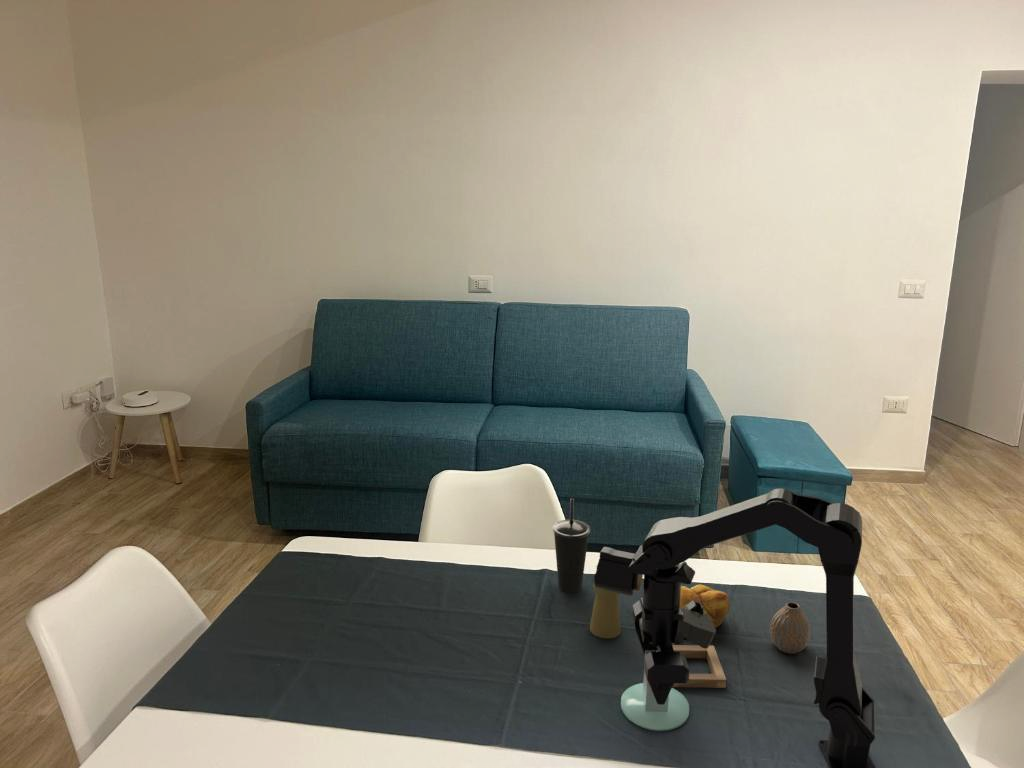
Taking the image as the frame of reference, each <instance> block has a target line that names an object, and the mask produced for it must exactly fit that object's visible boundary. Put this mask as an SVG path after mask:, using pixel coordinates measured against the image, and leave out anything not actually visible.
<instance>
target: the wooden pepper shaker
mask: <svg viewBox="0 0 1024 768" xmlns="http://www.w3.org/2000/svg"><path fill="white" fill-rule="evenodd" d="M592 586H593V587H592V588H593V591H594V593H595V596H594V602H593V607H592V611H591V619H590V624H589V632H590V633H591V634H592V635H593V636H595V637H598V638H599V639H600V638H601V639H615V638H617V637H619V636H620V635H621V632H622V623H621V615H620V614H621V613H620V604H619V601H620V600H619V595H620V593H615V592H611V591H606V590H601V589H597V588H595V584H594V582H593V584H592Z"/></svg>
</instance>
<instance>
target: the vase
mask: <svg viewBox="0 0 1024 768" xmlns="http://www.w3.org/2000/svg"><path fill="white" fill-rule="evenodd" d="M769 633H770V638H771V641H772V643H773V644H774V646H775V647H777V649H778V650H779V651H781V652H783V653H786V654H793V655H794V654H798V653H800V652H802V651H803V650H804V649H805V648H806V647H807V645H808V644H809V641H810V639H811V638H810V637H811V625H810V621H809V619H808V617H807V616H806V614H805V613H804V611H803V609H801V606H800V604H799V603H797V602H795V601H789V602H786V603H785V605H784V606H783V607H782V608H780V609H779V610H778V611H776V613H775V614H774V615H773V617H772V618H771V621H770V626H769Z"/></svg>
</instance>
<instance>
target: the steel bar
mask: <svg viewBox="0 0 1024 768" xmlns="http://www.w3.org/2000/svg"><path fill="white" fill-rule="evenodd" d="M651 651H658V650H645V655H644V657H645V656H646V655H647V654H648V653H649V652H651ZM644 668H645V666H644V667H643V680H642V681H643V682H642V683H643V702H644V707H645V711H649V712H668V701H669V695H668V697H667V700H666V702H665V704H663V705H659V704H657V702H656V699H655V697H654V694H653V692H652V690H651V687H650V685H649V683H648V681H647V679H646V674H645V670H644Z"/></svg>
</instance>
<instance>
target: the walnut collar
mask: <svg viewBox="0 0 1024 768" xmlns="http://www.w3.org/2000/svg"><path fill="white" fill-rule="evenodd" d="M672 646H673V649H674V652H680V653H682V654H683V655H684V656H685V658H686V659H706V660H707V664H708V667H709V669H710V672H711V673H689V681H688V682H687V683H674V685H673V687H672V688H709V689H710V688H716V689H717V688H720V689H721V688H723V689H725V688H727V677H726V675H725V673H724V672H725V671H724V669H723V666H722V664H721V662H720V659H719V656H718V654H717V651H716V648H715V645H709V647H708V648H706V649H705V648H702V647H701V646H699V645H696V644H693V645H692V644H690V645H689V644H688V645H685V644H683V645H675V644H672Z"/></svg>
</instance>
